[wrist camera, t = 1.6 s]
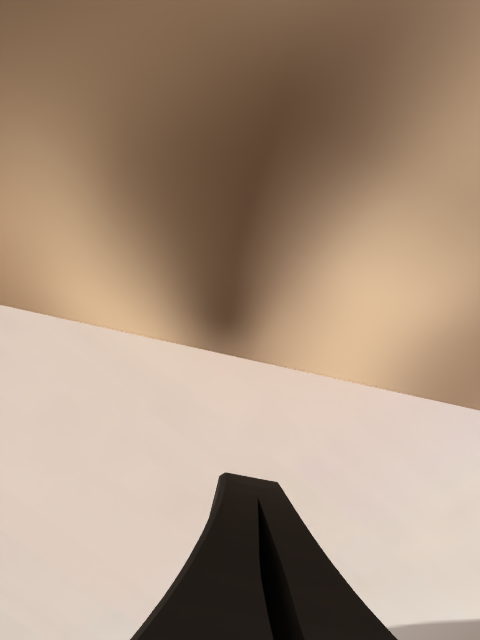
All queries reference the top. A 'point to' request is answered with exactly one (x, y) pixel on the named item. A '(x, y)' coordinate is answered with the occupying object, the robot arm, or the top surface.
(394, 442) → the top surface
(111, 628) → the top surface
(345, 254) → the box lid
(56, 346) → the top surface
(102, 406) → the top surface
